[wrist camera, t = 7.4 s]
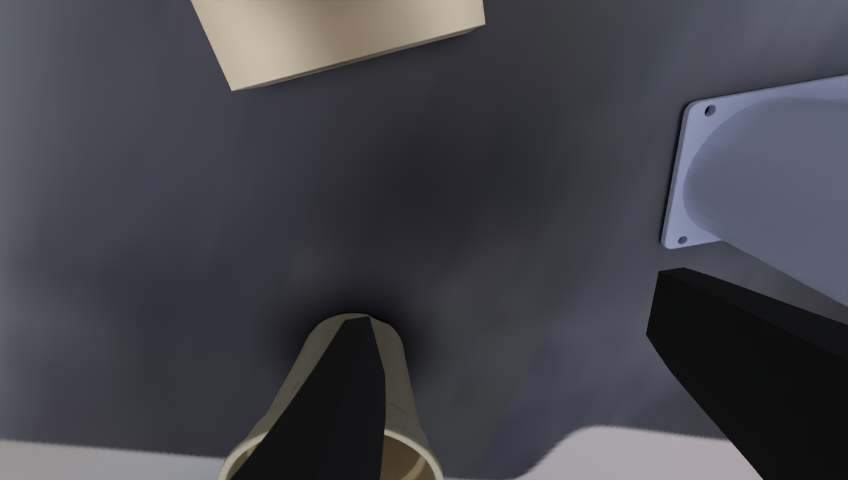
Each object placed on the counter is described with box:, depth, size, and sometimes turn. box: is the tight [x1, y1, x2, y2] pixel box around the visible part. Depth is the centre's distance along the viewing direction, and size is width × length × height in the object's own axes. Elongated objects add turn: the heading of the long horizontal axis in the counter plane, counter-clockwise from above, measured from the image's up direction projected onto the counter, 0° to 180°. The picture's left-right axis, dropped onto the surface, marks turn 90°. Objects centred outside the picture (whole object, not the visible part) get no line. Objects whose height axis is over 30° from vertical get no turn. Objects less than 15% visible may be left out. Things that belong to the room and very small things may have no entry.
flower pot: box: [217, 313, 443, 480], centre depth 18 cm, size 9×9×9 cm
